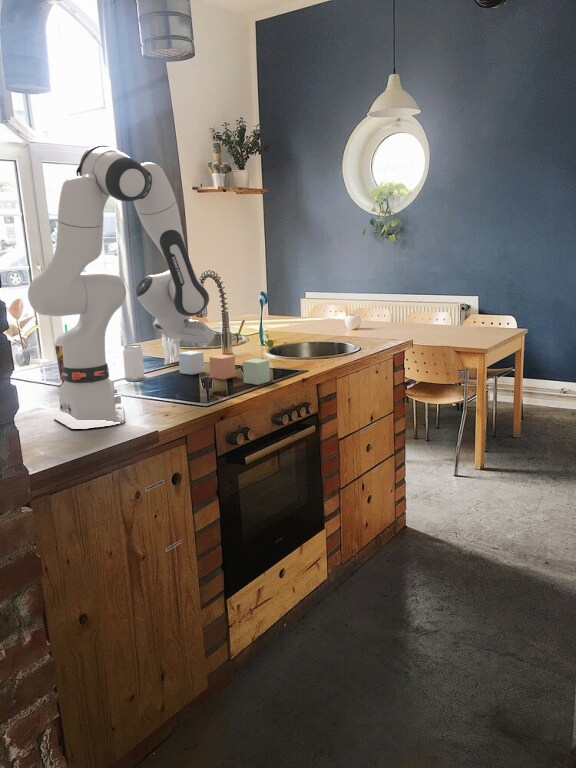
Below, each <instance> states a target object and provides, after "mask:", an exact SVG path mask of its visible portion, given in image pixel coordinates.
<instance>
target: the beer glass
mask: <svg viewBox="0 0 576 768" xmlns="http://www.w3.org/2000/svg"><path fill="white" fill-rule="evenodd" d="M160 333H161V342H162V347H163V351H164V365H169V364H172V363H173V364H174V363H179V353H180V344H181V340H176V339H170V338H168V337H166V336H165V335H164V334H163V333H162V332H161V331H160Z"/></svg>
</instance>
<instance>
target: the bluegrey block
mask: <svg viewBox="0 0 576 768" xmlns="http://www.w3.org/2000/svg"><path fill="white" fill-rule="evenodd" d="M204 361H205V360H204V352H203V351H196V350H195V351H194V350H189V351H188V350H187V351H183V352H179V362H178V366H179V367H178V368H179V373H180V374H185V375H191V376H192V375H197V374H199V373H200V374H201V373H204V372H205V365H204V363H205V362H204Z"/></svg>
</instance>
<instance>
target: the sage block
mask: <svg viewBox="0 0 576 768" xmlns="http://www.w3.org/2000/svg"><path fill="white" fill-rule="evenodd" d="M242 368H243V370H242V371H243V383H244V384H250V385H251V384H252V385H262V384H266V383H269V382H271V381H270V380H271V379H270V378H271V375H270V360H269V359H263V358H262V359H261V358H252V359H251V358H250V359H248V360H244V361H242Z"/></svg>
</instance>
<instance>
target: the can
mask: <svg viewBox="0 0 576 768" xmlns="http://www.w3.org/2000/svg"><path fill="white" fill-rule="evenodd" d="M122 353H123V355H122V357H123V368H124V369H123V370H124V378H125V381H126V382H127V383H138V382H140V380H134V379H141V378H145V367H144V353H143V349H142V345H140V344H128V345H123V350H122Z"/></svg>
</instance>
